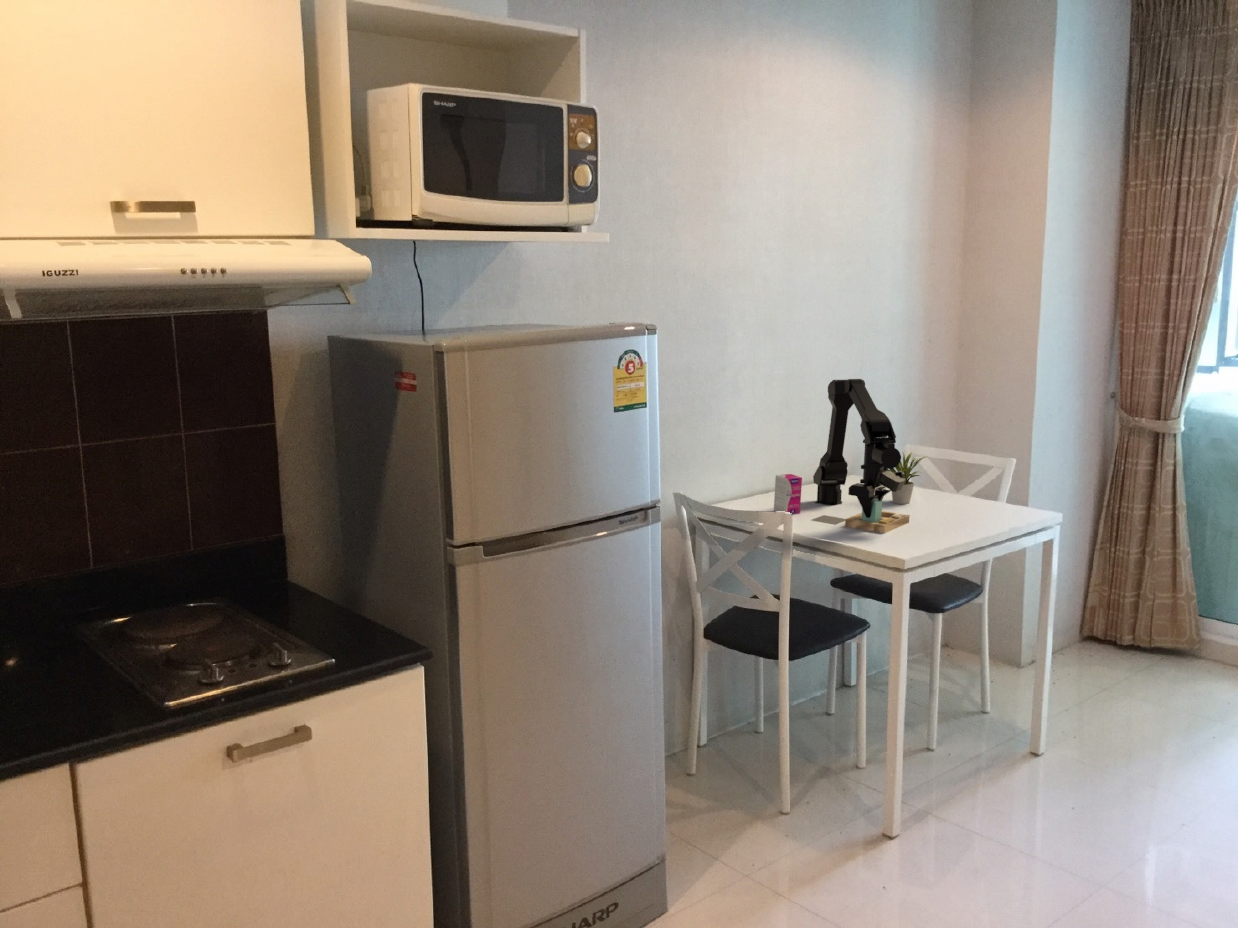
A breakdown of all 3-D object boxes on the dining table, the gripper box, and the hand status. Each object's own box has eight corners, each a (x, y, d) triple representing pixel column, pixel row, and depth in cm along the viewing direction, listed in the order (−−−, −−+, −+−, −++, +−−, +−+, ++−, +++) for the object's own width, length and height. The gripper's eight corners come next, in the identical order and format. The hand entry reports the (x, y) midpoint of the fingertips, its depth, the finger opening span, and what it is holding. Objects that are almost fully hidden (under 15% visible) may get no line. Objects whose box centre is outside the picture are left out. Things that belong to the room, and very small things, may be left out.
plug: (861, 521, 300) (862, 498, 299) (867, 518, 303) (869, 496, 302) (874, 523, 298) (876, 500, 297) (881, 521, 301) (882, 498, 300)
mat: (810, 521, 308) (810, 520, 308) (823, 516, 314) (823, 515, 314) (835, 525, 303) (835, 524, 303) (848, 520, 310) (848, 519, 309)
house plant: (920, 496, 341) (923, 446, 338) (934, 506, 328) (937, 454, 325) (876, 496, 341) (878, 446, 338) (888, 506, 327) (891, 454, 324)
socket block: (845, 527, 302) (845, 517, 301) (870, 517, 314) (870, 507, 313) (884, 534, 294) (885, 524, 294) (909, 523, 306) (909, 513, 306)
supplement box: (784, 516, 314) (786, 478, 311) (773, 512, 319) (774, 475, 317) (800, 514, 316) (802, 476, 314) (788, 510, 321) (790, 473, 319)
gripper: (886, 470, 285) (883, 527, 288) (915, 460, 300) (912, 514, 303) (848, 465, 292) (846, 520, 295) (879, 455, 306) (876, 508, 309)
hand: (871, 516), depth 300 cm, fingers closed on plug, 4 cm apart
